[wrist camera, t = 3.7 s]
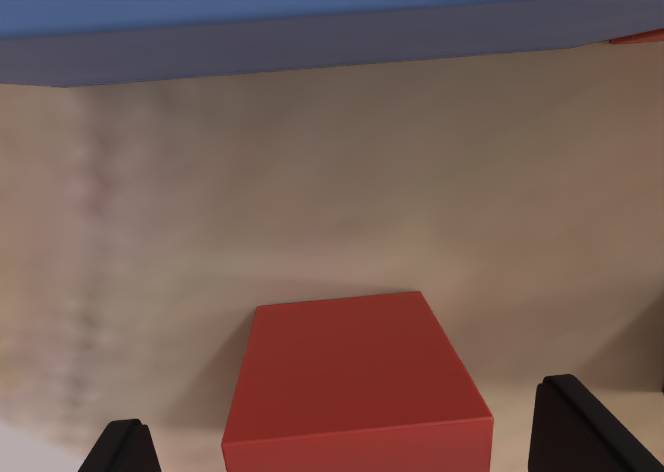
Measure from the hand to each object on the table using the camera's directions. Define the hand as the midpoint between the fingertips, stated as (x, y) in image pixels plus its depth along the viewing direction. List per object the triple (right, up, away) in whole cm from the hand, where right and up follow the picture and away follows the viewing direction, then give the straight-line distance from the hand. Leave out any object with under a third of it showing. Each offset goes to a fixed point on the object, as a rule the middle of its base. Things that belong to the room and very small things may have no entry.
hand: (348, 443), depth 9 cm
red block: (0, +1, +2) cm, 3 cm away
